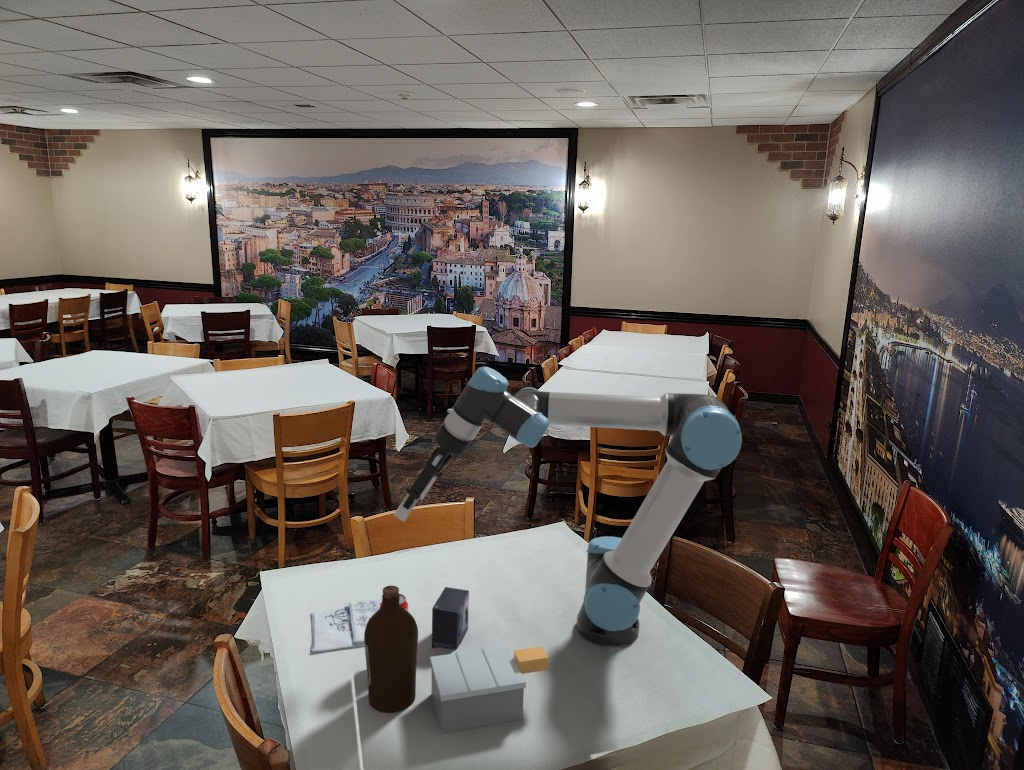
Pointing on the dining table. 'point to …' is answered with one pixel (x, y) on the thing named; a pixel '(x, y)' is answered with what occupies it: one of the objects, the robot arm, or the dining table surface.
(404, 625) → the brown tall rounded piece
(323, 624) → the white printed cloths
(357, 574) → the dining table surface
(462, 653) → the lid
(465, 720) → the tub
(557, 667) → the dining table surface
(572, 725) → the dining table surface
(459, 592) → the small box
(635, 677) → the dining table surface
